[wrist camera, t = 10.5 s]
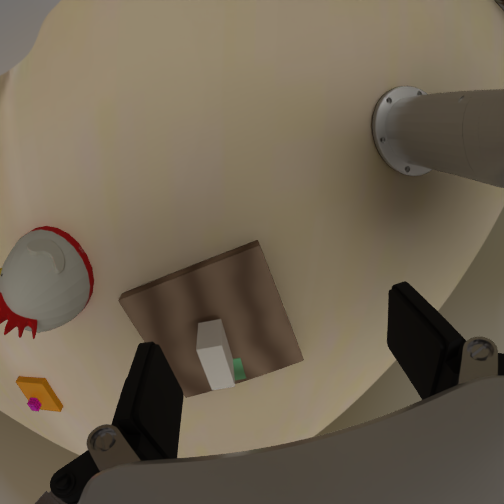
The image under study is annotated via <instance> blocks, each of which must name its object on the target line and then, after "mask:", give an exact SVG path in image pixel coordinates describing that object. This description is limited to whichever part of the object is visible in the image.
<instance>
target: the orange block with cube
mask: <svg viewBox="0 0 504 504" xmlns="http://www.w3.org/2000/svg"><path fill="white" fill-rule="evenodd" d="M16 383H17V385H18V386H19V388H20V389H21V391H22V392H23V394H24V395H25V396H26V398H27V399H28V403H27V404H28V406H29V407H30V408H31V410H33V411H39V409H41V410H49V411H58V412H61V410H62V408H63V405H62V403H61V402H60V400H59V399H58V397H57V396H56V394H55V393H54V391H53V390H52V388H51V386H50V385H49V383H48V382H47V380H46V378H35V377H22V376H19V377H18V379H17V380H16Z"/></svg>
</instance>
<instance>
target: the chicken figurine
mask: <svg viewBox="0 0 504 504" xmlns="http://www.w3.org/2000/svg"><path fill="white" fill-rule="evenodd" d="M93 285H94V278H93V271H92V267H91V264H90V262H89V259H88V257H87V254H86V253H85V252H84V250H83V249H82V247H81V246H80V244H79V243H78V242H77V241H76V240H75V239H74V238H73V237H71V236H70V235H69V234H68V233H66V232H64V231H62V230H60V229H58V228H55V227H49V226H44V227H38V228H35V229H34V230H32V231H30V232H29V233H27V234H26V235H24V236H23V237H22V238H20V239H19V240H18V242H17V243H16V244H15V246H14V247H13V249H12V250H11V252H10V254H9V255H8V257H7V259H6V260H5V262H4V264H3V267H2V268H1V269H0V324H1V323H2V322H3V321H5V320H8V322H7V324H6V327H5V331H4V335H6V334H7V333H8V332H10V331H11V330H12V329H13V328H15V327H16V326H17V327H18V330H19V338H20V337H21V336H22V333H23V330H24V329H25V330H28V331H32V335H33V339H34V338H35V335H36V332H37V333H40V332H43V331H49V330H52V329H55V328H57V327H60V326H62V325H64V324H65V323H67V322H69V321H71V320H72V319H73V318H75V317H76V316H77V315H78V314H79V313H80V312H81V311H82V310H83V309H84V308H85V306H86V305H87V303H88V301H89V299H90V297H91V295H92V293H93Z"/></svg>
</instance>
